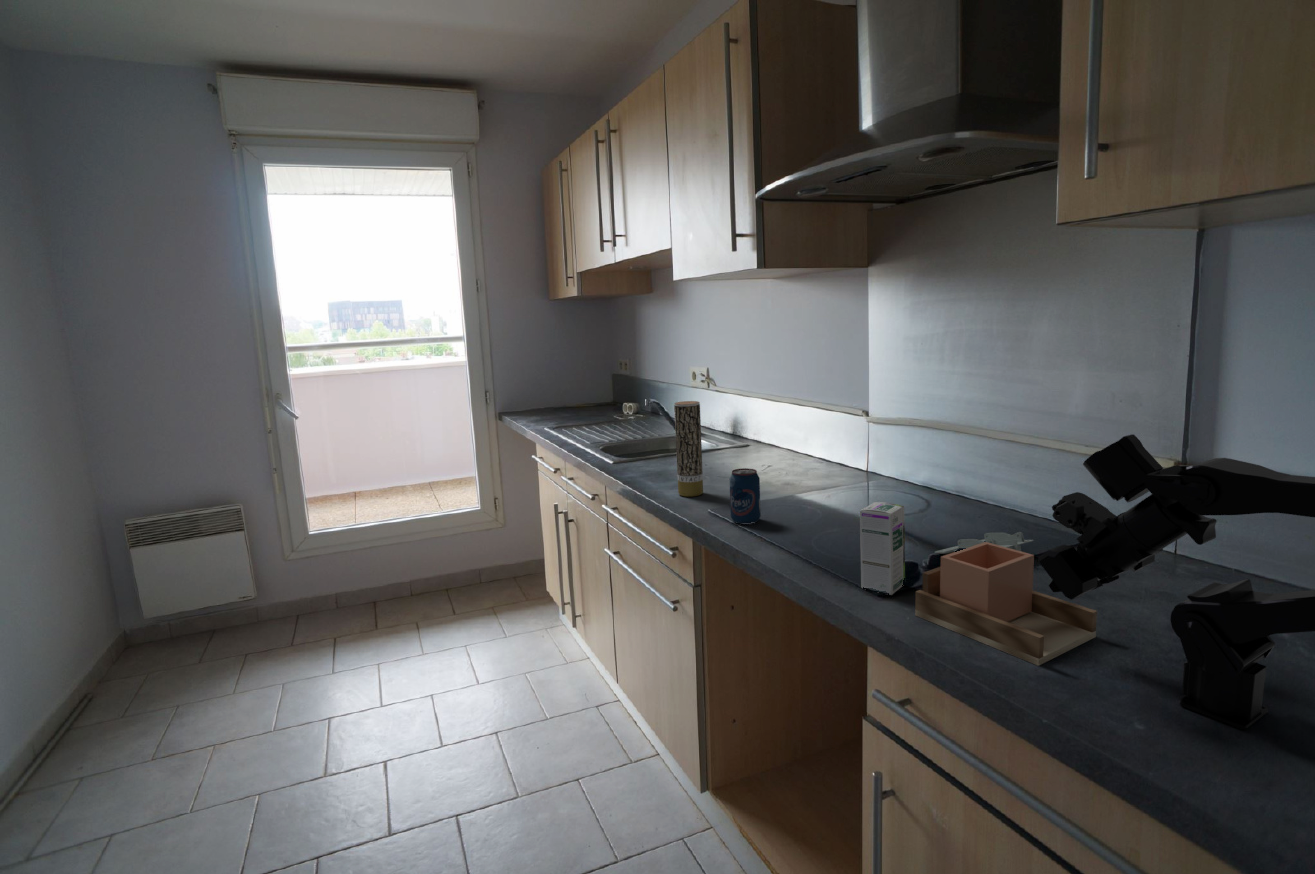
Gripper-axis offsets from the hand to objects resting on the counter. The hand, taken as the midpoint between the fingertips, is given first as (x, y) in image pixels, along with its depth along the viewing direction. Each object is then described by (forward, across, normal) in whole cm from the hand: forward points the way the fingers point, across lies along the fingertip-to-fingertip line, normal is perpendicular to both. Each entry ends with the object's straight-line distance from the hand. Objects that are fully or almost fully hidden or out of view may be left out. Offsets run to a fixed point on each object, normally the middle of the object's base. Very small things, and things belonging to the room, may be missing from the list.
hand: (1052, 588), depth 99 cm
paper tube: (+78, -8, -68) cm, 104 cm away
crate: (+12, 0, -2) cm, 12 cm away
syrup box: (+26, +2, -14) cm, 30 cm away
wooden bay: (+11, 0, 0) cm, 11 cm away
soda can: (+58, -4, -47) cm, 75 cm away
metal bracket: (+25, -26, -13) cm, 39 cm away
